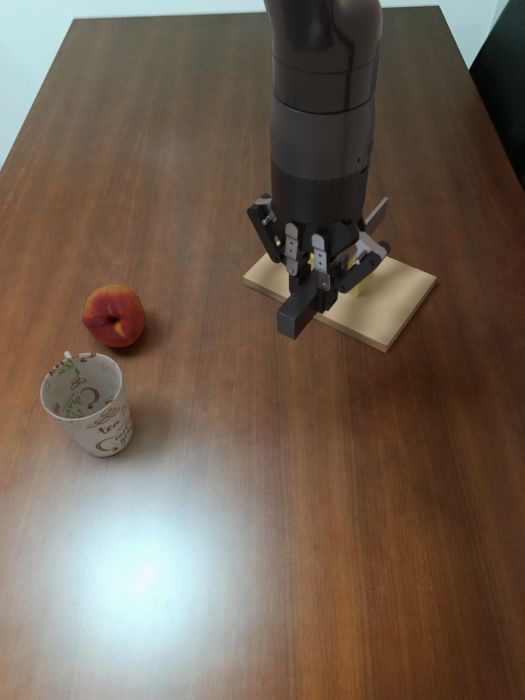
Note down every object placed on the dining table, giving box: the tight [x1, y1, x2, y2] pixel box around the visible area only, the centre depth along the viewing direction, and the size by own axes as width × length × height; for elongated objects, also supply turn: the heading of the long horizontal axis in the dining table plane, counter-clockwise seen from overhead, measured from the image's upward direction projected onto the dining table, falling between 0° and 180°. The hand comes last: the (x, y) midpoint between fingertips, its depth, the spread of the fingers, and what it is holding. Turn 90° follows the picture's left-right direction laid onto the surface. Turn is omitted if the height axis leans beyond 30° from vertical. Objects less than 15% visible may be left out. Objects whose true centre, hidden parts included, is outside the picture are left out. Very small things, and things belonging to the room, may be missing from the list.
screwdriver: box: [276, 196, 389, 341], centre depth 58 cm, size 20×2×3 cm, turn 146°
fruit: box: [81, 283, 146, 348], centre depth 73 cm, size 8×8×8 cm
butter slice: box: [348, 263, 373, 297], centre depth 76 cm, size 2×4×4 cm, turn 145°
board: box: [242, 240, 437, 354], centre depth 79 cm, size 22×14×2 cm, turn 55°
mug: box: [39, 350, 134, 458], centre depth 64 cm, size 8×13×10 cm, turn 33°
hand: (312, 301), depth 57 cm, fingers closed on screwdriver, 2 cm apart
